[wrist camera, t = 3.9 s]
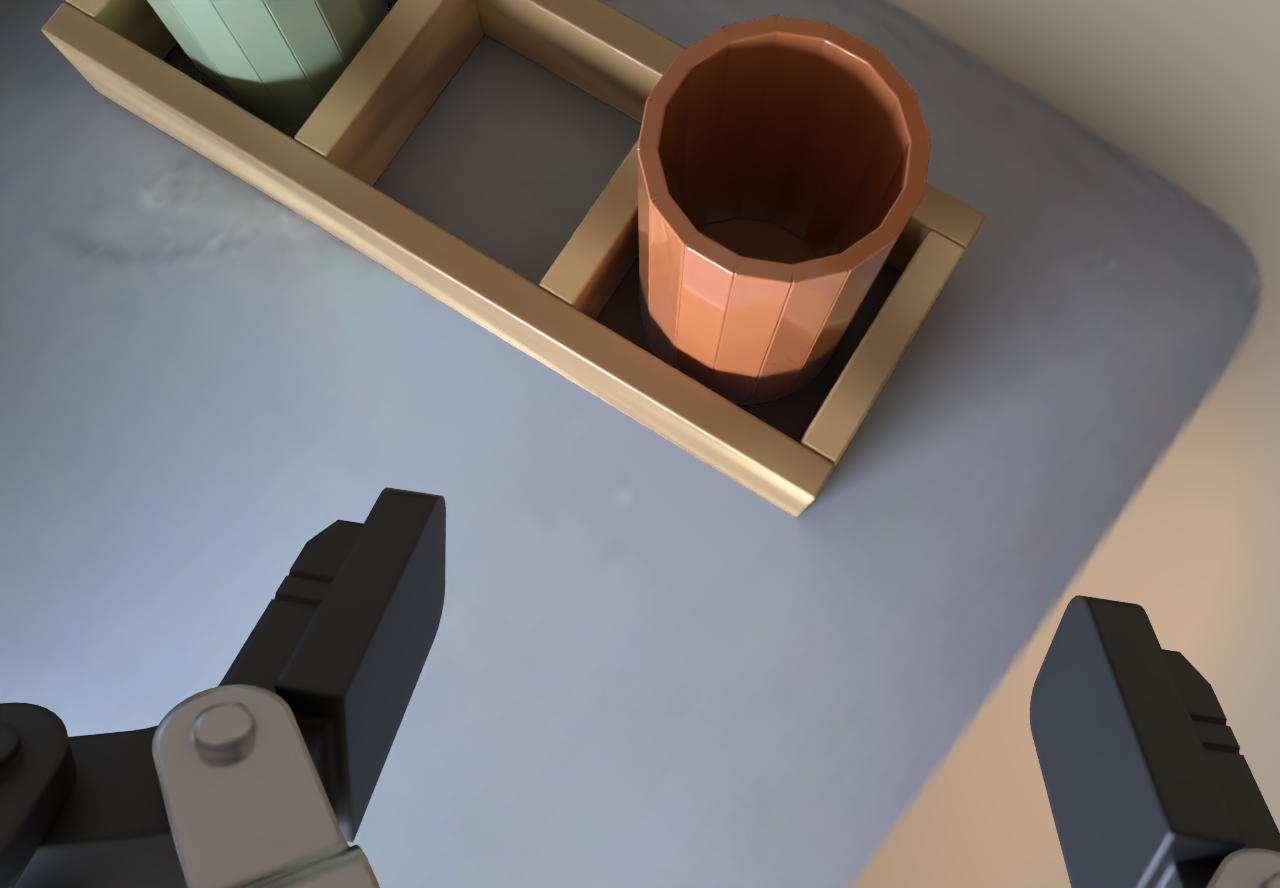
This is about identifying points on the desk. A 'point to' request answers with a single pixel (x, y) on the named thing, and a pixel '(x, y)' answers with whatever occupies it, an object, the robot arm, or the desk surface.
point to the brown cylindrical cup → (771, 200)
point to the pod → (272, 49)
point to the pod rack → (472, 281)
